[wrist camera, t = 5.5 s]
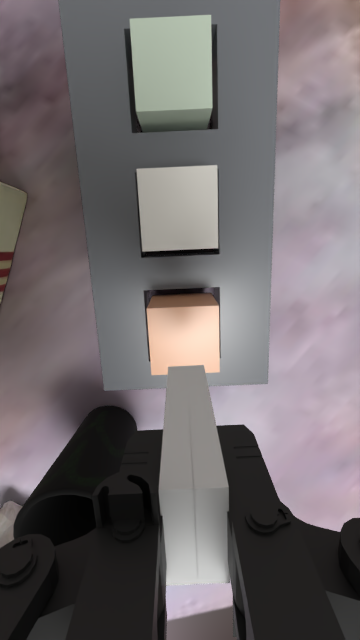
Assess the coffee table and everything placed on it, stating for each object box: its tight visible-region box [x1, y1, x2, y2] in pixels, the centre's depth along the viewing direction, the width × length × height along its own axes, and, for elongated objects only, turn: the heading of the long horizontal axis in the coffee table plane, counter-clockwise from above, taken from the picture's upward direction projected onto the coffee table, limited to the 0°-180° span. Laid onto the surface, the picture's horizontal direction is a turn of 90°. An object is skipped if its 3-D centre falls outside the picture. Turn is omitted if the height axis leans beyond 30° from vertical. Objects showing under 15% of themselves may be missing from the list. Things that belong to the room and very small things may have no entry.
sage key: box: [130, 15, 213, 133], centre depth 21 cm, size 5×5×5 cm
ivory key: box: [136, 165, 218, 252], centre depth 21 cm, size 5×5×5 cm
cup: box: [13, 406, 137, 547], centre depth 26 cm, size 8×8×12 cm
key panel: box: [58, 0, 280, 391], centre depth 25 cm, size 14×28×4 cm, turn 2°
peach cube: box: [147, 293, 220, 375], centre depth 23 cm, size 5×5×5 cm
